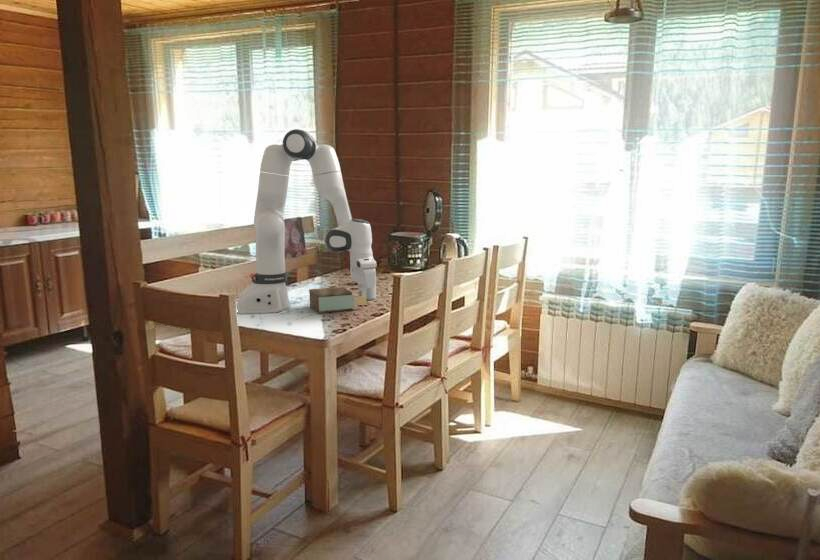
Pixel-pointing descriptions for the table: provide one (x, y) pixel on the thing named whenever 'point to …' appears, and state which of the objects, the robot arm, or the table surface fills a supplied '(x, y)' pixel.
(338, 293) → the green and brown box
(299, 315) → the table surface
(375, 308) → the table surface
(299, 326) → the table surface
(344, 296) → the green yellow-tipped stick
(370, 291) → the can
